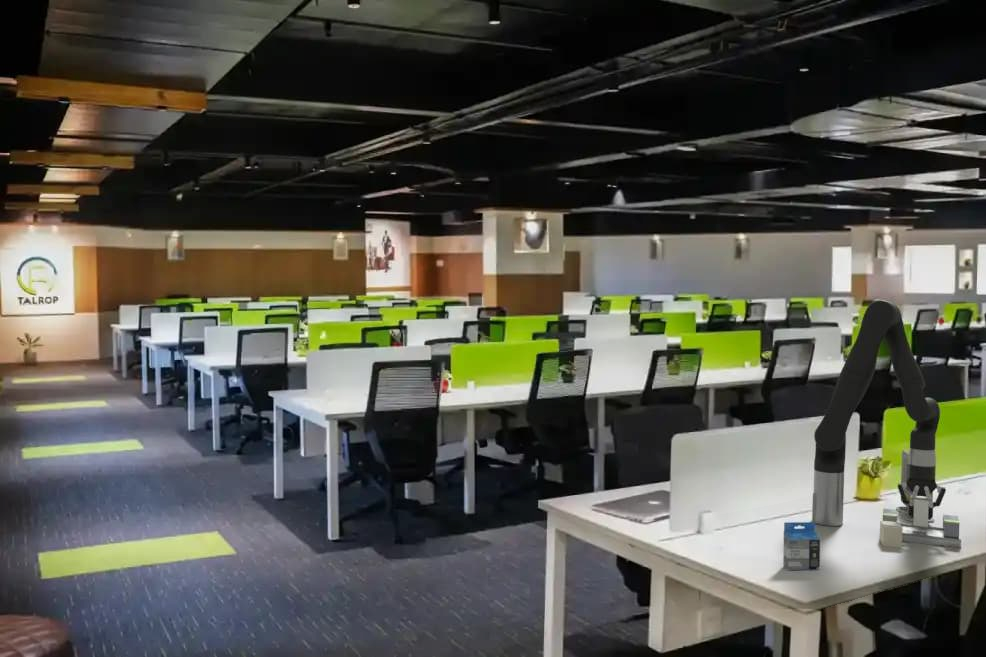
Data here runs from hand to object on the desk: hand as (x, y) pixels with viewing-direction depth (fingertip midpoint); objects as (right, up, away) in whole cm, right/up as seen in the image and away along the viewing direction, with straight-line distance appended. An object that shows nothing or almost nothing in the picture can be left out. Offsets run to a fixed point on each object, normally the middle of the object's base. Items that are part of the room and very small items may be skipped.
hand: (920, 518), depth 277 cm
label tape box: (-47, -7, -31) cm, 57 cm away
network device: (+11, -5, +28) cm, 30 cm away
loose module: (0, -2, 0) cm, 2 cm away
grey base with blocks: (0, -6, 0) cm, 6 cm away
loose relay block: (-12, -6, -7) cm, 15 cm away
